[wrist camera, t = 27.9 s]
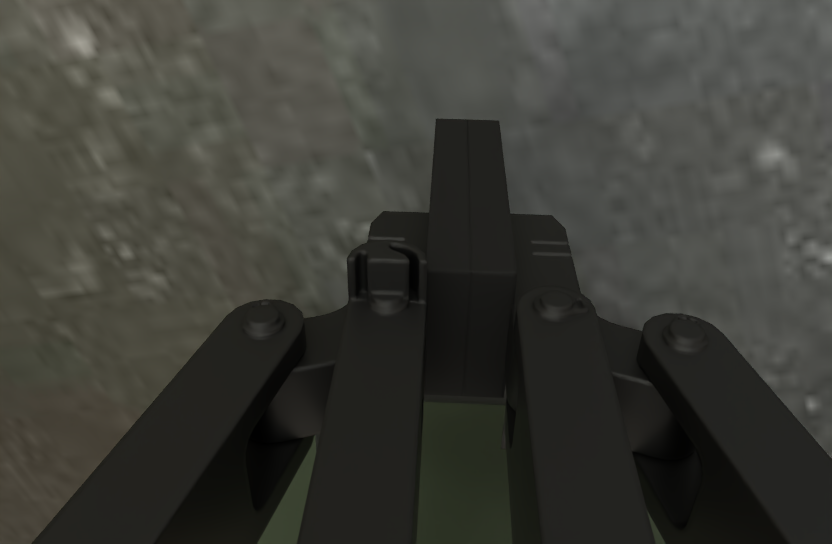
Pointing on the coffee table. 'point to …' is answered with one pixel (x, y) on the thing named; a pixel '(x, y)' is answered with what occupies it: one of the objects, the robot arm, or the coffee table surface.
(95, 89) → the coffee table surface
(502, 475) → the green-front drawer
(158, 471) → the robot arm
